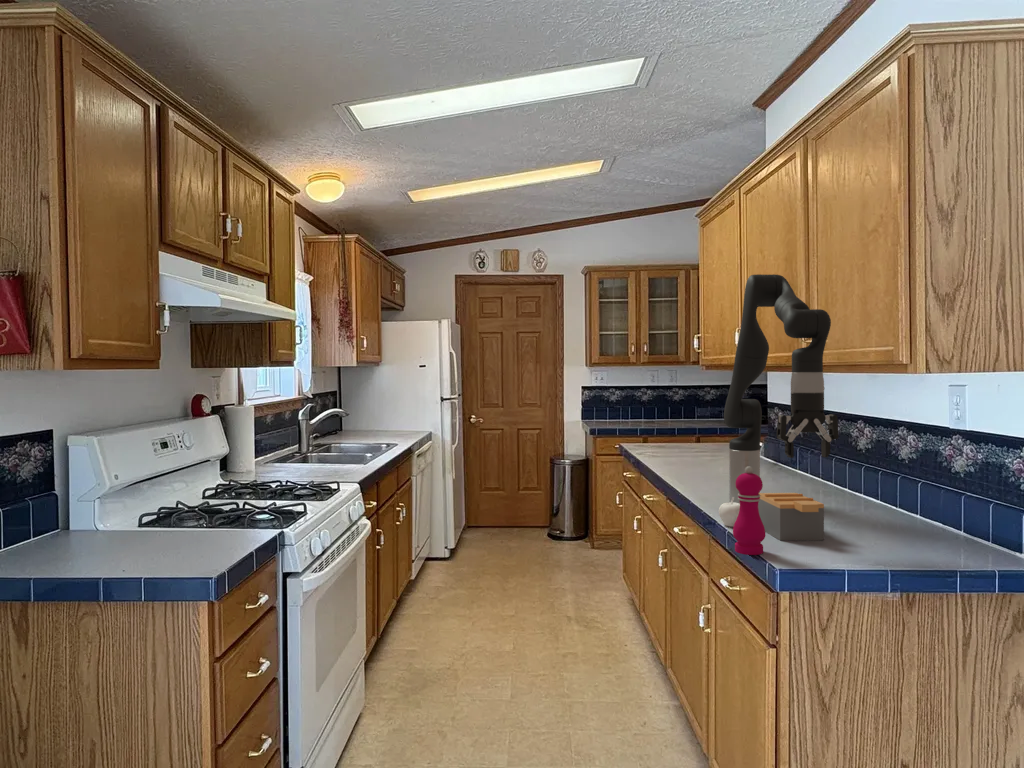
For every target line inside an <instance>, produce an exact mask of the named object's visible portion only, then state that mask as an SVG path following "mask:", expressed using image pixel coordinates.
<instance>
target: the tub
mask: <svg viewBox="0 0 1024 768" xmlns="http://www.w3.org/2000/svg"><path fill="white" fill-rule="evenodd" d="M758 510H759V515H760V518H761V520H762V523H763V525H764V528H765V533H767V534H768V535H770V536H772V537H773V538H775V539H776V540H779V541H824V540H825V507H824V508H818V512H801V511H799V510H796V509H794V508H785V509H780V508H778V507H776V506H774V505H772V504H770V503H768V502H766V501H763V500H761V499H760V501H759V502H758Z"/></svg>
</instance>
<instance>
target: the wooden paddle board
mask: <svg viewBox="0 0 1024 768" xmlns="http://www.w3.org/2000/svg"><path fill="white" fill-rule="evenodd" d="M759 494H760V499H761V500H763V501H766V502H768V503H770V504H772V505H774V506H776V507H778V508H780V509H785V508H794V509H796V510H799V511H801V512H818V508H824V509H825V504H824V503H822V502H820V501H817V500H815V499H814V497H807V496H805V495H804V494H803V493H797V492H765V493H764V492H760V493H759Z"/></svg>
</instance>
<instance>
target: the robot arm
mask: <svg viewBox="0 0 1024 768" xmlns="http://www.w3.org/2000/svg"><path fill="white" fill-rule="evenodd" d="M742 306H743V307H742V317H741V324H740V325H741V326H740V331H739V335H738V340H737V344H736V351H735V354H734V355H735V356H734V363H733V368H732V377H731V382H730V386H729V390H728V393H727V397H726V400H725V405H724V411H723V421H724V424H725V425H726V427H728V428H732V429H746V430H745V432H744V433H743V434H741V435H740V436H737V437H735V438H733V439H730V441H729V445H728V447H729V451H728V452H729V455H728V457H729V459H728V460H729V464H728V465H729V476H728V477H729V480H728V481H729V493H728V495H729V497H728V499H729V502H731V500H732V498H733V497H734V500H733V502H735V503H740V500H738V493H739V491H738V490H737V488H736V484H735V483H736V479H737V477H738V476H739V475H741V474H743V473H746V472H745V468H746V467H748V466H750V467H752V469H753V472H752V473H753V474H756V475H758V476H759V477H760V478H761V460H760V459H761V457H760V456H761V453H760V452H761V441H762V440H761V439H762V438H761V437H762V435H761V432H762V414H763V411H762V406H761V403H760V401H759V400H758V399H755V398H743V396H744V395H745V393H746V391H747V389H748V388H749V387H750V386H751V385H752V384H753V383H754V382H755V381H756V380H758V378H759V377H760V376H761V374H762V373H763V372H764V370H765V369H766V367H767V362H768V357H769V352H770V345H769V342H768V339H767V338H766V337H767V336H766V335H765V334H764V332H763V330H762V328H761V326H760V325H759V321H758V317H757V310H758V308H759V307H760V308H773V309H774V314H775V315H776V317H777V318H778V319H779V320H780V321H781V322H782V323H783V328H784V329H783V330H784V333H785V334H786V336H787V337H789V338H792V339H811V341H810V343H809V344H808V346H805V347H800V348H797V349H794V350H793V351H792V353H791V376H790V377H791V378H790V414H789V415H784V414H778V416H777V420H776V421H777V425H776V426H777V427H776V438H777V439H778V440H781V441H783V442H784V454H785V455H786V456H787V458H789V459H791V458H792V459H793V458H794V457H795V455H794V454H795V452H794V451H795V450H794V448H795V447H794V442H793V441H794V440H795V439H796V437H798V436H799V434H800V433H801V434H804V433H805V434H806V433H816V434H817V436H819V438H820V439H821V443H820V445H821V447H820V448H821V451H820V453H821V458H829V456H830V455H831V442H832V441H834V440H838V439H839V423H838V422H839V420H838V415H837V414H828V415H825V413H824V411H825V379H824V353H825V348H826V344H827V339H828V336H829V333H830V331H831V324H832V321H831V320H832V319H831V316H830V315H829V313H828V311H826V310H824V309H814V308H813V309H810V306H808V304H807V303H805V302H804V301H803V300H801V299H800V297H798V296H797V294H796V293H795V292H794V290H793V287H792V286H791V284H790V283H789V282H788V280H787V279H786V277H784V276H782V275H781V274H751V275H750V276H748V278H747V280H746V283H745V288H744V294H743V305H742ZM789 421H790V423H791V427H790V428H789V429H788V431H787V425H788V424H789ZM825 422H826V424H827V425H828V426H827V427H828V430H826V429H825V428H824V426H823V425H824V423H825ZM759 493H761V491H760V492H759Z"/></svg>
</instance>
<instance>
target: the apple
mask: <svg viewBox="0 0 1024 768" xmlns="http://www.w3.org/2000/svg"><path fill="white" fill-rule="evenodd" d="M733 500H734V497H733V498H732V500H731V502H724V503H722V504H720V506H719V508H718V514H719V515H718V516H719V517H720V520H721V522H722V523H723V525H724V526H726V527H729V528H733V527H734V524H735V521H736V519H737V517H738V514H739V509H740V503H735V502H733Z"/></svg>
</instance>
